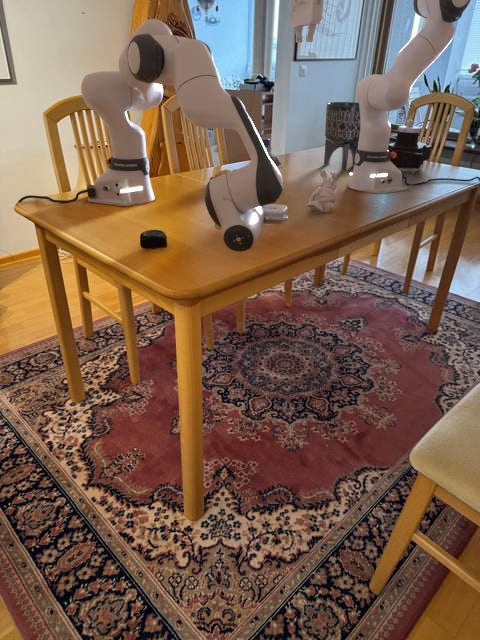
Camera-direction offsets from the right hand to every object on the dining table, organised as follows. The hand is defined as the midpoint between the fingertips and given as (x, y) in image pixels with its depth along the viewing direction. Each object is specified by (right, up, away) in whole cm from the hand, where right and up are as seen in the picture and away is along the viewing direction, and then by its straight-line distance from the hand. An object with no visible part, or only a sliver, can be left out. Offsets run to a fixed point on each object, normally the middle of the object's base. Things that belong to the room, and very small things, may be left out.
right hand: (304, 42), depth 147 cm
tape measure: (-43, -72, -30) cm, 89 cm away
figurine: (+6, -54, +3) cm, 55 cm away
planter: (+26, -19, +63) cm, 71 cm away
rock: (-8, -21, +59) cm, 63 cm away
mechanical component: (+56, -20, +62) cm, 86 cm away
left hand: (-17, -57, -17) cm, 62 cm away
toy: (-26, -37, +30) cm, 55 cm away
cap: (-14, -34, -5) cm, 37 cm away
